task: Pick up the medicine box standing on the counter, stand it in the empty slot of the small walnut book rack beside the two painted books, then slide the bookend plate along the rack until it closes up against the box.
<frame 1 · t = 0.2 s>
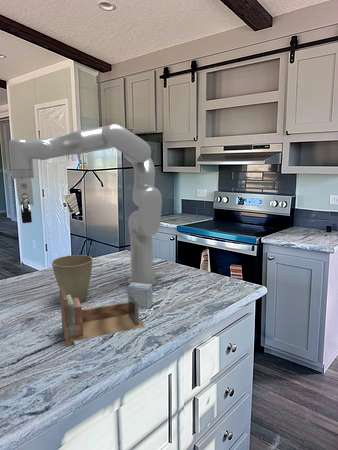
hand: (26, 220, 132), 31 cm above the counter, tool pointing down, fingers open, 9 cm apart
rack: (103, 329, 113), on the counter
plant pot: (74, 300, 136), on the counter
medicine box: (140, 308, 129), on the counter
bookend: (133, 310, 116), point 5 cm above the counter, slide at 0.0 cm, touching rack
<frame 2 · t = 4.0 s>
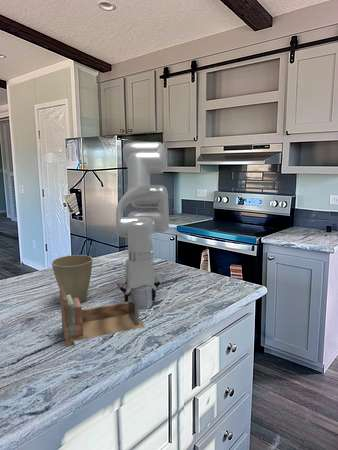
hand: (140, 301, 128), 2 cm above the counter, tool pointing down, fingers closed on medicine box, 8 cm apart
medicine box: (140, 308, 129), on the counter, touching gripper
everything else where it was.
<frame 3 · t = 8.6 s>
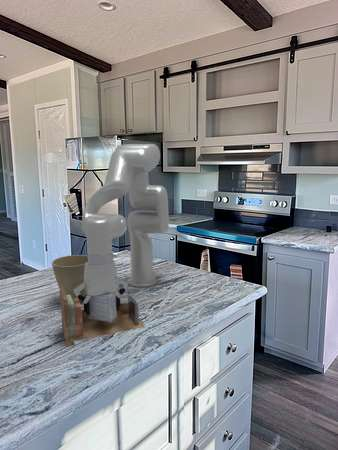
hand: (102, 311, 112), 6 cm above the counter, tool pointing down, fingers closed on medicine box, 8 cm apart
medicine box: (102, 318, 112), point 4 cm above the counter, touching gripper
everything else where it was.
when the fingers open (6 cm above the counter, at t = 9.6 s): medicine box drops 2 cm, resting on rack.
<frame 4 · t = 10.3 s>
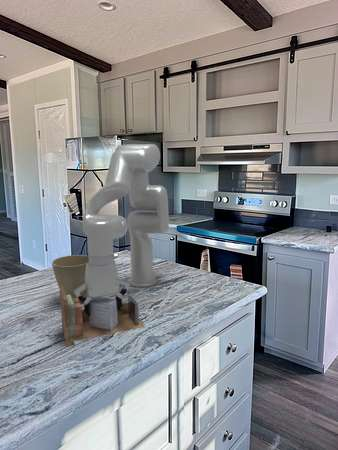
hand: (103, 311, 112), 6 cm above the counter, tool pointing down, fingers open, 9 cm apart
medicine box: (103, 326, 112), point 1 cm above the counter, touching gripper, rack
everything else where it was.
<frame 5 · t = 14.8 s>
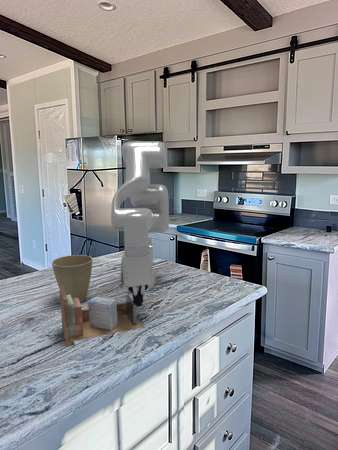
hand: (138, 304, 116), 6 cm above the counter, tool pointing down, fingers closed
medicine box: (103, 326, 112), point 1 cm above the counter, touching rack
bookend: (131, 310, 115), point 5 cm above the counter, slide at 0.7 cm, touching gripper, rack
everything else where it was.
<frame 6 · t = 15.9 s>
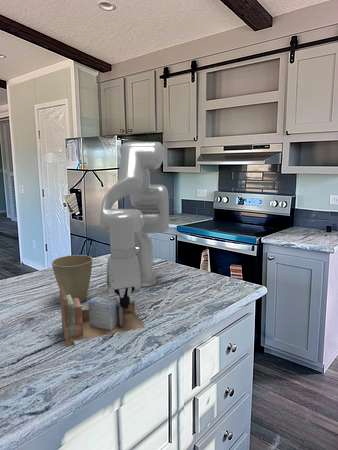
hand: (124, 307, 114), 6 cm above the counter, tool pointing down, fingers closed
bookend: (117, 312, 114), point 5 cm above the counter, slide at 5.1 cm, touching gripper, rack
everything else where it was.
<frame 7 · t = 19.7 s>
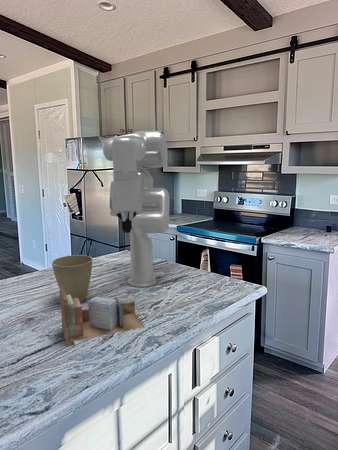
hand: (126, 232, 119), 29 cm above the counter, tool pointing down, fingers closed
bookend: (118, 312, 114), point 5 cm above the counter, slide at 5.0 cm, touching rack
everything else where it was.
at the end: medicine box inside the target area (0.2 cm from its centre), point 1.0 cm above the counter; medicine box tilted 0°; bookend slide at 5.0 cm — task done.
